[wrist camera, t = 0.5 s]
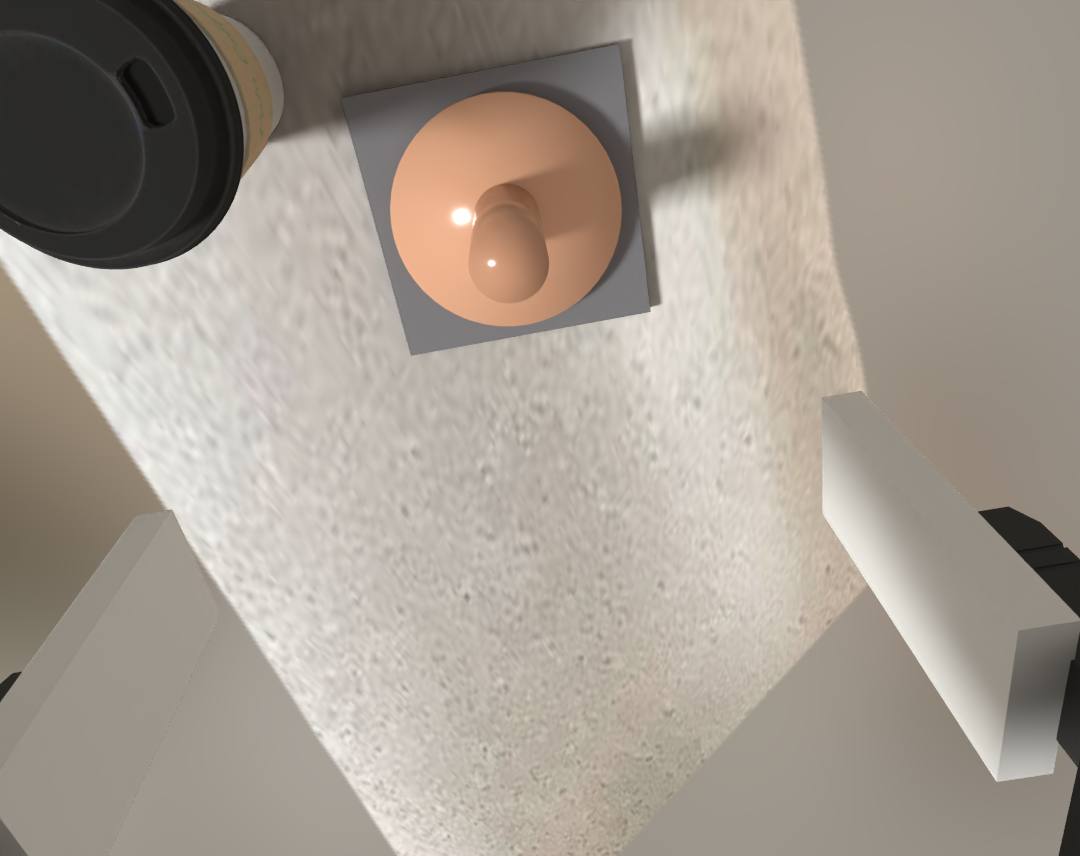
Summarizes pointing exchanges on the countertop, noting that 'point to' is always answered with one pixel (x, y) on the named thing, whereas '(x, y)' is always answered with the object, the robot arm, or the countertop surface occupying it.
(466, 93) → the mat
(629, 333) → the countertop surface
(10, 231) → the coffee cup
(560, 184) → the lid
